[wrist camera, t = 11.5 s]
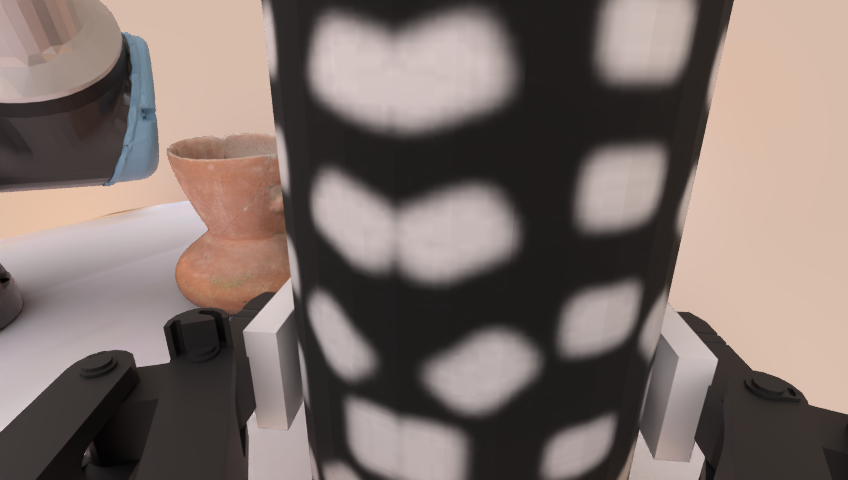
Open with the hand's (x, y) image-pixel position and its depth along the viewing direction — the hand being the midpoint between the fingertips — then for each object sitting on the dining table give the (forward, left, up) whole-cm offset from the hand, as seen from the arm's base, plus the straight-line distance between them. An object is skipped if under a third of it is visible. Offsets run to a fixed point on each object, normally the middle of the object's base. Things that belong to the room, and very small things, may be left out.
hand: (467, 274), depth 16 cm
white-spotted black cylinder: (+5, 0, -12) cm, 13 cm away
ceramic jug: (-21, -18, -13) cm, 31 cm away
